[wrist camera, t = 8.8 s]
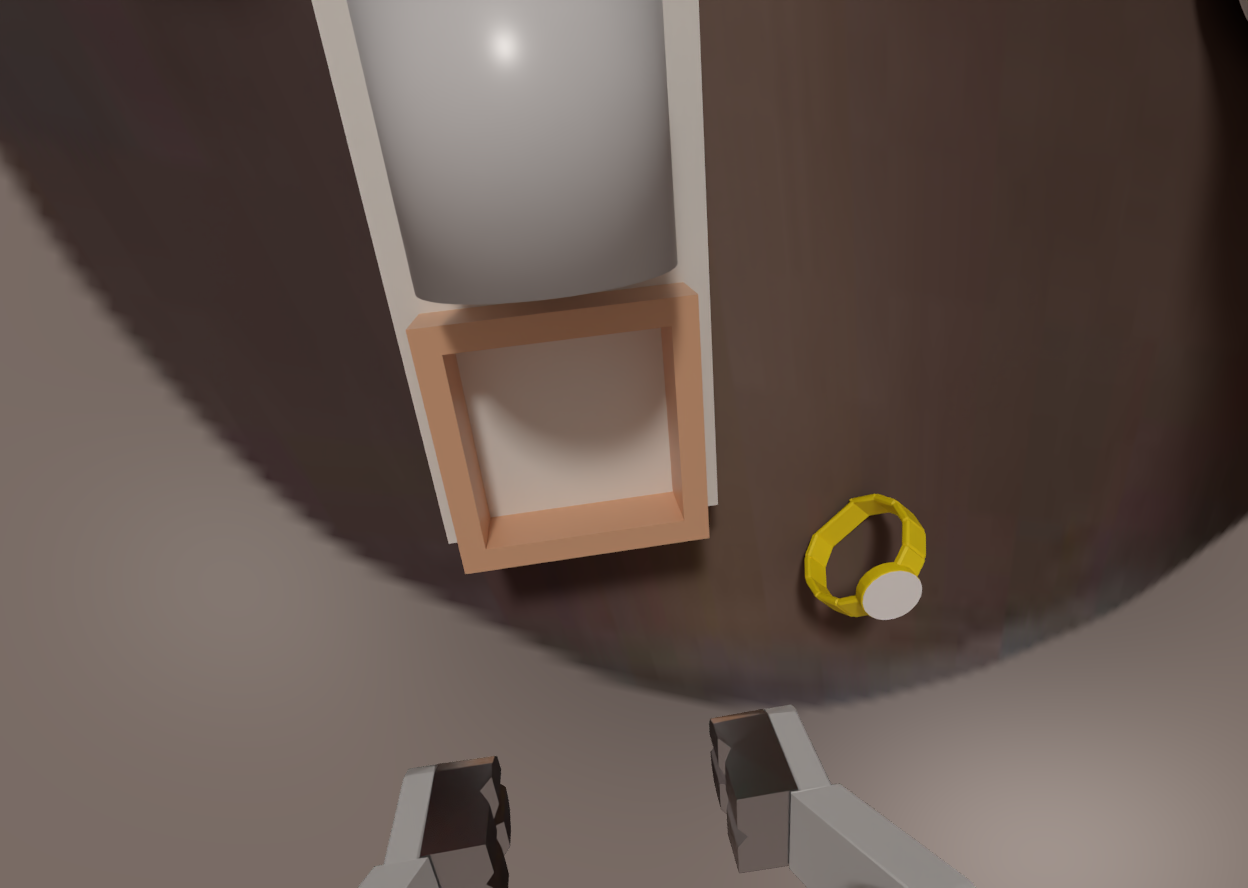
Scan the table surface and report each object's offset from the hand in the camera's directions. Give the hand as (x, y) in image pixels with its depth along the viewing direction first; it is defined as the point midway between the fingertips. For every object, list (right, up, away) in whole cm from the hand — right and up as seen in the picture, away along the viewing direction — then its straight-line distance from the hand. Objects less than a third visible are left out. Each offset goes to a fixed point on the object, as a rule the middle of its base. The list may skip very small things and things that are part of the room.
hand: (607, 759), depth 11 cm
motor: (-3, +12, +15) cm, 20 cm away
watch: (+12, +1, +22) cm, 25 cm away
